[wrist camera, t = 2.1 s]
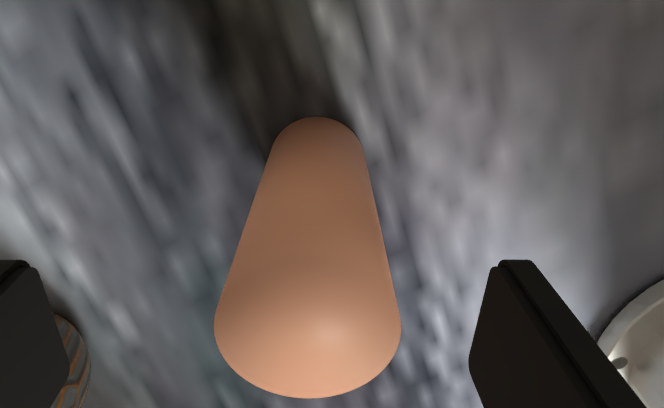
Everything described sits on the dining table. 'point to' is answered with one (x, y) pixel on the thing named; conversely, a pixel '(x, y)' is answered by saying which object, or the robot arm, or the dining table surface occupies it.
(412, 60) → the dining table surface
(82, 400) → the vase
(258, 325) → the peg
